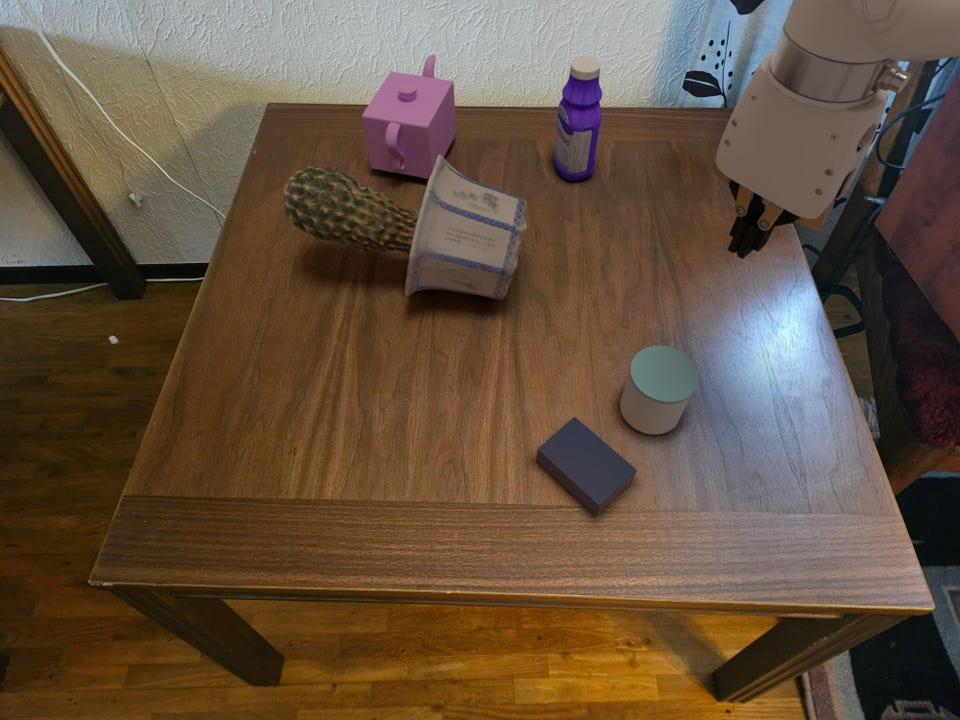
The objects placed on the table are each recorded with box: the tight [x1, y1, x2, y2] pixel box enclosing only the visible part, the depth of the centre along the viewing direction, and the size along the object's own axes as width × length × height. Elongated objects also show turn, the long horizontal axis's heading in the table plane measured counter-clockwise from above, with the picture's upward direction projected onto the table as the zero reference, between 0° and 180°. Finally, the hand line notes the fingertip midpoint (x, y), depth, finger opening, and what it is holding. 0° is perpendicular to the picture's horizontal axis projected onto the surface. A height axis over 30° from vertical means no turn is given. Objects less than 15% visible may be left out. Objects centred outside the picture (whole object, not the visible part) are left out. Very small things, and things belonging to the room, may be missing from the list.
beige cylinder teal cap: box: [619, 345, 700, 437], centre depth 72 cm, size 10×7×10 cm
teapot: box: [361, 54, 457, 180], centre depth 98 cm, size 20×10×12 cm, turn 164°
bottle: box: [553, 55, 603, 182], centre depth 93 cm, size 7×6×17 cm
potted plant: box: [282, 155, 529, 301], centre depth 81 cm, size 18×18×30 cm
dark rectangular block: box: [535, 416, 638, 518], centre depth 69 cm, size 9×6×3 cm, turn 43°
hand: (743, 247), depth 59 cm, fingers closed
